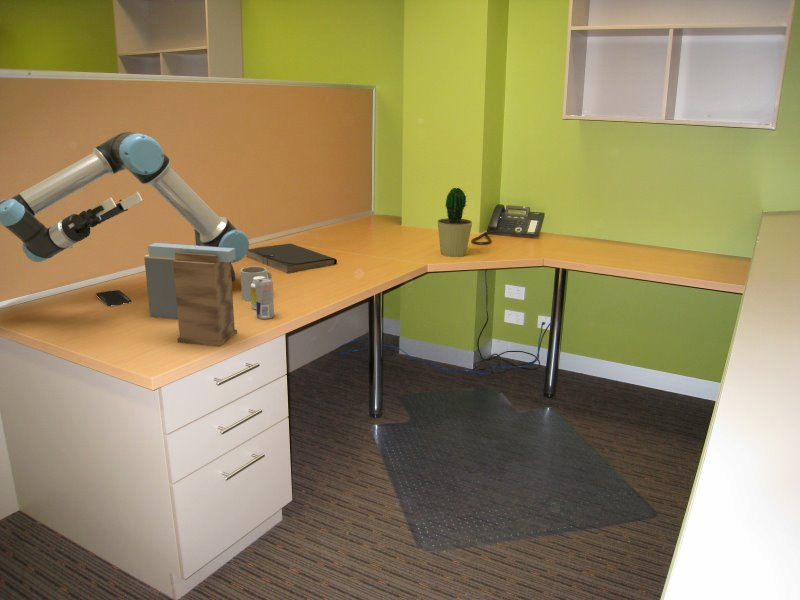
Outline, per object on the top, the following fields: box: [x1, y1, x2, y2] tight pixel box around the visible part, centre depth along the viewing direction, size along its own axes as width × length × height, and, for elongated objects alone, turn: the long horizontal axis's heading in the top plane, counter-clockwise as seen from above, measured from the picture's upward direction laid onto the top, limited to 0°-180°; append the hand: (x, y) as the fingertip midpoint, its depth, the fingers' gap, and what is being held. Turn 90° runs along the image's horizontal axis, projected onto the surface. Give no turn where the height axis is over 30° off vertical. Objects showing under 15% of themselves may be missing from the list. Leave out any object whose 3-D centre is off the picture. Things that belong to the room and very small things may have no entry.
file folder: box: [246, 243, 338, 274], centre depth 273 cm, size 33×4×24 cm
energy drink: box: [255, 277, 275, 320], centre depth 204 cm, size 5×5×12 cm
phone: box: [95, 289, 132, 307], centre depth 220 cm, size 8×1×15 cm
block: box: [143, 253, 178, 320], centre depth 204 cm, size 10×12×20 cm
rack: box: [173, 252, 238, 347], centre depth 184 cm, size 11×13×26 cm
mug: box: [240, 266, 273, 303], centre depth 224 cm, size 12×9×10 cm
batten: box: [147, 242, 236, 262], centre depth 181 cm, size 4×24×3 cm, turn 79°
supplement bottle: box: [251, 276, 265, 311], centre depth 213 cm, size 6×6×10 cm
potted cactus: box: [437, 187, 473, 258], centre depth 286 cm, size 15×15×30 cm
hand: (127, 198), depth 185 cm, fingers open, 13 cm apart
